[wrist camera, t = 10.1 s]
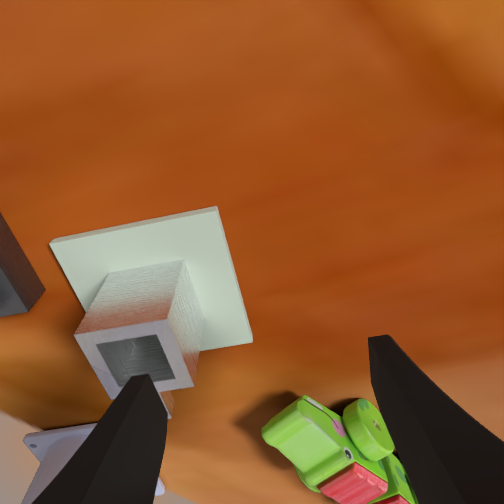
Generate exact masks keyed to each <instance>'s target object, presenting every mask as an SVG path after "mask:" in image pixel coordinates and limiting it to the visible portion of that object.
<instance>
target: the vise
mask: <svg viewBox="0 0 504 504" xmlns="http://www.w3.org/2000/svg"><path fill="white" fill-rule="evenodd" d="M44 291H45V288H44V286H43V285H42V283H41V281H40V280H39V278H38V276H37V274H36V273H35V271H34V269H33V268H32V266H31V264H30V262H29V261H28V259H27V257H26V256H25V254H24V252H23V251H22V249H21V247H20V245H19V244H18V242H17V240H16V239H15V237H14V235H13V233H12V232H11V230H10V228H9V227H8V225H7V223H6V222H5V220H4V218H3V216H2V215H1V213H0V317H3V316H8V315H14V314H19V313H24V312H29V310H30V309H31V308H32V307H33V305H34V304H35V303H36V301H37V300H38V299H39V298H40V296H41V295H42V294H43V293H44Z"/></svg>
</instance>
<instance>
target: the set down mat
mask: <svg viewBox="0 0 504 504" xmlns="http://www.w3.org/2000/svg"><path fill="white" fill-rule="evenodd" d="M49 245H50V247H51V249H52V250H53V252H54V254H55V256H56V258H57V260H58V262H59V263H60V265H61V267H62V269H63V271H64V273H65V274H66V276H67V278H68V280H69V282H70V284H71V286H72V287H73V289H74V291H75V293H76V295H77V297H78V299H79V300H80V302H81V304H82V306H83V308H84V310H85V311H86V313H87V311H88V309H89V308H90V306H91V304H92V302H93V301H94V299H95V297H96V296H97V294H98V292H99V290H100V289H101V287H102V285H103V284H104V282H105V280H106V278H107V277H108V275H109V273H110V272H115V271H121V270H126V269H131V268H137V267H142V266H148V265H153V264H159V263H164V262H169V261H175V260H180V259H184V260H185V263H186V266H187V269H188V272H189V275H190V278H191V281H192V284H193V287H194V290H195V293H196V296H197V298H198V301H199V304H200V307H201V310H202V313H203V316H204V324H203V331H202V338H201V345H200V351H203V350H209V349H215V348H221V347H227V346H233V345H239V344H245V343H251V342H253V337H252V332H251V328H250V325H249V321H248V317H247V314H246V310H245V306H244V303H243V299H242V295H241V292H240V288H239V284H238V281H237V277H236V274H235V270H234V266H233V263H232V259H231V255H230V252H229V248H228V244H227V241H226V237H225V233H224V230H223V226H222V222H221V219H220V215H219V211H218V208H217V206H214V207H209V208H204V209H199V210H194V211H189V212H184V213H179V214H174V215H169V216H164V217H159V218H154V219H149V220H144V221H139V222H134V223H129V224H124V225H119V226H114V227H109V228H104V229H99V230H94V231H90V232H85V233H80V234H75V235H70V236H65V237H60V238H55V239H53V240H52V241H51V242H50V243H49Z"/></svg>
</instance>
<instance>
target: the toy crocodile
mask: <svg viewBox="0 0 504 504" xmlns="http://www.w3.org/2000/svg"><path fill="white" fill-rule="evenodd" d="M261 434H262V437H263V439H264V440H265V442H266V443H267V444H269V445H270V446H273V447H275V448H277V449H278V450H279V451H280V452H281V453H282V454H283V455H284V456H285V457H287V458H288V459H289V460H290V461H291V462H292V463H293V464H294V467H295V470H296V472H297V474H298V476H299V477H300V479H301V481H302V482H303V483H304V484H305V485H306V486H307V487H308V488H309V489H310V490H312V491H314V492H322V493H323V494H324V495H326V496H328V497H331V498H332V499H334V500H335V501H337V502H338V503H340V504H419V503H418V501H417V498H416V495H415V493H414V490H413V488H412V485H411V483H410V481H409V478H408V476H407V474H406V471H405V469H404V467H403V464H401V463H400V461H399V460H398V459H397V458H396V457H395V456H394V455H393V454H392V452H393V450H394V444H393V441H392V439H391V437H390V434H389V432H388V430H387V427H386V425H385V422H384V420H383V418H382V415H381V414H380V412H379V411H378V410H377V409H376V408H375V407H374V405H373V404H371V403H370V402H369V401H367V400H365V399H358V400H356V401H354V402H353V403H351V404H350V405H348V406H347V407H346V408H345V409H344V411H343V417H341V416H339V415H337V414H336V413H334V412H333V411H331V410H329V409H328V408H326V407H324V406H323V405H321V404H319V403H318V402H316V401H315V400H313V399H312V398H310V397H309V396H307V395H303V396H301V397H300V398H299V399H297V400H296V401H294V402H293V403H291V404H290V405H289V406H287V407H286V408H285V409H283V410H282V411H281V412H279V413H278V414H276V415H275V416H274V417H272V418H271V419H270V420H269V421H268V423H267V424H266V425H264V426H263V427H262V430H261Z"/></svg>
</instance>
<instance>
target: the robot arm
mask: <svg viewBox="0 0 504 504" xmlns="http://www.w3.org/2000/svg"><path fill="white" fill-rule="evenodd" d="M368 347H369V360H370V374H371V384H372V387H373V390H374V393H375V397H376V400H377V403H378V406H379V409H380V413H381V415H382V418H383V420H384V422H385V425H386V427H387V430H388V432H389V434H390V437H391V439H392V441H393V444H394V446H395V448H396V450H397V453H398V455H399V457H400V460H401V462H402V464H403V467H404V469H405V471H406V474H407V476H408V478H409V481H410V483H411V485H412V488H413V490H414V493H415V495H416V498H417V501H418V503H419V504H504V442H503V441H502V440H501V439H499V438H498V437H497V436H495V435H494V434H493V433H492V432H490V431H489V430H488V429H486V428H485V427H484V426H483V425H481V424H480V423H479V422H478V421H476V420H475V419H474V418H473V417H472V416H470V415H469V414H468V413H467V412H466V411H465V410H463V409H462V408H461V407H460V406H459V405H458V404H457V403H455V402H454V401H453V400H452V399H451V398H450V397H449V396H448V395H446V394H445V393H444V392H443V391H442V390H441V389H440V388H439V387H438V386H437V385H436V384H435V383H434V382H433V381H432V380H431V379H430V378H429V377H428V376H427V375H426V374H425V373H424V372H423V371H422V370H421V369H420V368H419V367H418V366H417V365H416V364H415V363H414V362H413V361H412V360H411V359H410V358H409V357H408V356H407V355H406V353H405V352H404V351H403V350H402V349H401V348H400V347H399V346H398V344H397V343H396V342H395V341H394V340H393V338H392V337H391V336H389V335H381V336H375V337H369V338H368ZM167 421H168V412H167V410H166V408H165V406H164V404H163V402H162V400H161V398H160V396H159V394H158V392H157V390H156V388H155V386H154V383H153V381H152V379H151V377H150V375H149V374H143V375H137V376H131V377H130V379H129V380H128V382H127V383H126V384H125V386H124V387H123V388H122V390H121V391H120V393H119V394H118V395H117V397H116V398H115V400H114V401H113V402H112V404H111V405H110V407H109V408H108V410H107V411H106V412H105V414H104V415H103V417H102V418H101V419H100V421H99V422H98V423H94V424H87V425H80V426H74V427H67V428H61V429H54V430H48V431H41V432H35V433H29V434H27V435H25V438H24V440H23V441H24V443H25V444H26V446H27V447H28V448H29V449H30V450H31V451H32V453H33V454H34V455H35V456H36V458H37V459H38V460H39V461H40V463H41V464H40V466H39V468H38V470H37V472H36V474H35V476H34V478H33V480H32V483H31V484H30V486H29V489H28V491H27V493H26V495H25V497H24V499H23V501H22V503H21V504H153V500H154V496H157V495H162V494H164V492H165V486H164V485H163V483H162V481H161V479H160V478H159V473H160V468H161V463H162V459H163V454H164V449H165V442H166V433H167Z"/></svg>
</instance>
